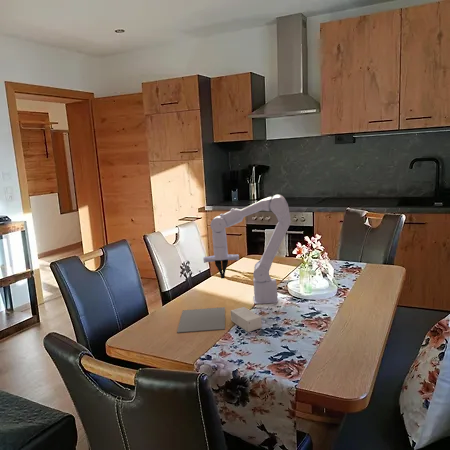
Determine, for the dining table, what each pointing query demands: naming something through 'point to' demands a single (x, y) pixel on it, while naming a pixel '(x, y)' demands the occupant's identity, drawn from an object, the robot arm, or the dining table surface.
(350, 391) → the dining table surface
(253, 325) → the skincare box
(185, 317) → the mat
